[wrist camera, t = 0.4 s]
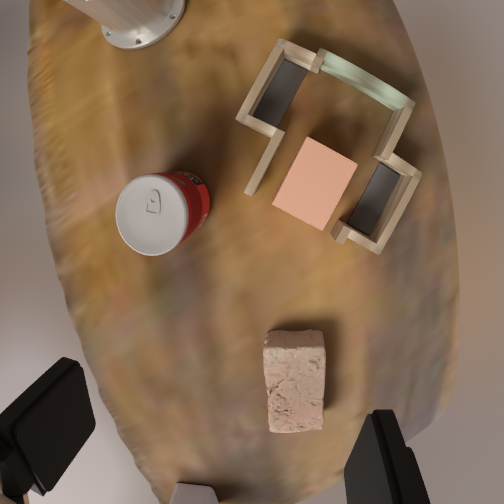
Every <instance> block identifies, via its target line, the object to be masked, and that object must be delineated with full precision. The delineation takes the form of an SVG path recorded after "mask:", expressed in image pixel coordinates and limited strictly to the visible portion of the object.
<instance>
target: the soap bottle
mask: <svg viewBox="0 0 504 504" xmlns="http://www.w3.org/2000/svg"><path fill="white" fill-rule="evenodd" d="M169 504H219V502H218V500H217V497H216V494H215V492H214V490H213V488H212V487H209V486H202V485H193V484H184V483H176V484H175V487H174V490H173V493H172V496H171V499H170V502H169Z"/></svg>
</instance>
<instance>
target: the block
mask: <svg viewBox="0 0 504 504" xmlns="http://www.w3.org/2000/svg"><path fill="white" fill-rule="evenodd" d="M357 165H358V164H356V163H354V162H353V161H351V160H349V159H347V158H346V157H344V156H342V155H340V154H339V153H337V152H335V151H333V150H331V149H330V148H328V147H326V146H324V145H322V144H320V143H319V142H317V141H315V140H313V139H311V138H309V137H306V138H305V139H304V140H303V142H302V144H301V146H300V148H299V150H298V152H297V154H296V156H295V158H294V160H293V162H292V163H291V165H290V167H289V169H288V171H287V173H286V175H285V177H284V179H283V181H282V183H281V185H280V187H279V189H278V191H277V192H276V194H275V196H274V198H273V202H272V205H274V206H276V207H278V208H280V209H282V210H284V211H286V212H288V213H289V214H291V215H293V216H295V217H297V218H299V219H301V220H303V221H305V222H307V223H308V224H310V225H312V226H314V227H316V228H318V229H320V230H322V231H323V229H324V227H325V225H326V224H327V222H328V220H329V218H330V216H331V214H332V213H333V211H334V209H335V207H336V205H337V203H338V202H339V200H340V198H341V196H342V194H343V192H344V190H345V188H346V186H347V185H348V183H349V181H350V179H351V177H352V175H353V173H354V171H355V169H356V167H357Z"/></svg>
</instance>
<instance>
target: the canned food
mask: <svg viewBox="0 0 504 504" xmlns="http://www.w3.org/2000/svg"><path fill="white" fill-rule="evenodd" d="M209 209H210V196H209V193H208V190H207V188H206V186H205V184H204V183H203V182H202V180H201V179H200V178H198V177H197V176H196V175H194V174H192V173H189V172H186V171H175V172H164V173H154V174H148V175H143V176H140V177H138V178H136V179H134V180H132V181H131V182H130V183H128V185H127V186H126V187H125V188H124V189H123V191H122V192H121V194H120V196H119V199H118V201H117V206H116V223H117V227H118V230H119V232H120V234H121V236H122V238H123V239H124V241H125V242H126V243H127V244H128V245H129V246H130V247H131V248H132V249H133V250H135V251H137V252H138V253H141V254H144V255H150V256H154V255H160V254H164V253H166V252H168V251H170V250H172V249H173V248H174V247H176V246H177V245H178V244H180V243H181V242H182V241H183V240H184V239H186V238H187V237H188V236H189V235H191V234H192V233H193V232H194V231H195V230H197V229H198V228H199V227H200V226H201V225H202V224H203V223H204V221H205V220H206V218H207V216H208V213H209Z"/></svg>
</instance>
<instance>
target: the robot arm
mask: <svg viewBox="0 0 504 504" xmlns="http://www.w3.org/2000/svg"><path fill="white" fill-rule="evenodd" d="M64 1H66V2H67V3H69V4H71V5H72V6H74V7H75V8H77V9H79V10H80V11H82V12H84V13H85V14H87V15H88V16H90V17H91V18H93V19H95V20H96V21H98V22H99V23H101V30H102V33H103V35H104V37H105V38H106V40H107V41H108V42H110V43H111V44H112V45H114V46H116V47H118V48H122V49H129V50H133V49H140V48H143V47H147V46H149V45H151V44H154V43H156V42H157V41H159V40H160V39H162V38H164V37H165V36H166V35H167V34H168V33H170V32H171V30H172V29H173V28H174V27H175V26H176V25H177V23H178V22H179V20H180V19H181V17H182V14H183V12H184V9H185V0H64ZM140 42H141V43H140ZM95 425H96V423H95V418H94V414H93V410H92V406H91V402H90V398H89V394H88V389H87V385H86V380H85V376H84V371H83V368H82V367H81V366H80V364H79V362H78V361H75V360H72V359H69V358H66V357H62V358H61V359H60V360H58V361H57V362H56V363H55V364H54V365H53V366H52V367H51V368H49V369H48V370H47V371H46V372H45V373H44V374H43V375H42V376H41V377H39V378H38V379H37V380H36V381H35V382H34V383H33V384H32V385H31V386H30V387H28V388H27V389H26V390H25V391H24V392H23V393H22V394H21V395H20V396H19V397H18V398H17V399H16V400H15V401H13V403H11V405H9V406H8V407H7V408H6V409H5V410H4V411H3V412H2V413H1V414H0V504H29V499H28V494H27V492H28V491H29V490H30V488H31V490H33V491H34V492H36V493H38V494H40V495H41V496H44V495H45V493H46V492H47V491H48V492H49V491H51V490H52V489H53V488H54V486H55V485H56V483H57V482H58V481H59V479H60V478H61V476H62V475H63V473H64V472H65V471H66V469H67V468H68V466H69V465H70V463H71V462H72V461H73V459H74V458H75V456H76V455H77V453H78V452H79V451H80V449H81V448H82V446H83V445H84V443H85V442H86V441H87V439H88V438H89V436H90V435H91V434H92V432H93V431H94V429H95ZM344 479H345V486H346V496H347V504H430V500H429V497H428V494H427V491H426V488H425V485H424V482H423V479H422V476H421V473H420V470H419V467H418V464H417V461H416V458H415V455H414V453H413V451H412V449H411V448H410V447H406V445H405V442H404V439H403V436H402V433H401V431H400V428H399V425H398V422H397V419H396V417H395V414H394V412H393V410H374V411H373V413H372V414H368V415H367V417H366V419H365V421H364V424H363V426H362V429H361V431H360V434H359V436H358V438H357V441H356V443H355V445H354V447H353V450H352V452H351V454H350V456H349V458H348V461H347V463H346V465H345V468H344Z"/></svg>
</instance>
